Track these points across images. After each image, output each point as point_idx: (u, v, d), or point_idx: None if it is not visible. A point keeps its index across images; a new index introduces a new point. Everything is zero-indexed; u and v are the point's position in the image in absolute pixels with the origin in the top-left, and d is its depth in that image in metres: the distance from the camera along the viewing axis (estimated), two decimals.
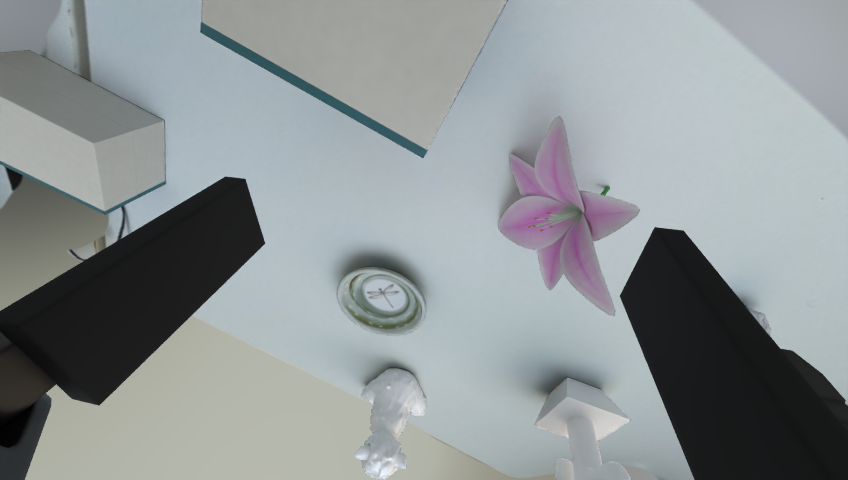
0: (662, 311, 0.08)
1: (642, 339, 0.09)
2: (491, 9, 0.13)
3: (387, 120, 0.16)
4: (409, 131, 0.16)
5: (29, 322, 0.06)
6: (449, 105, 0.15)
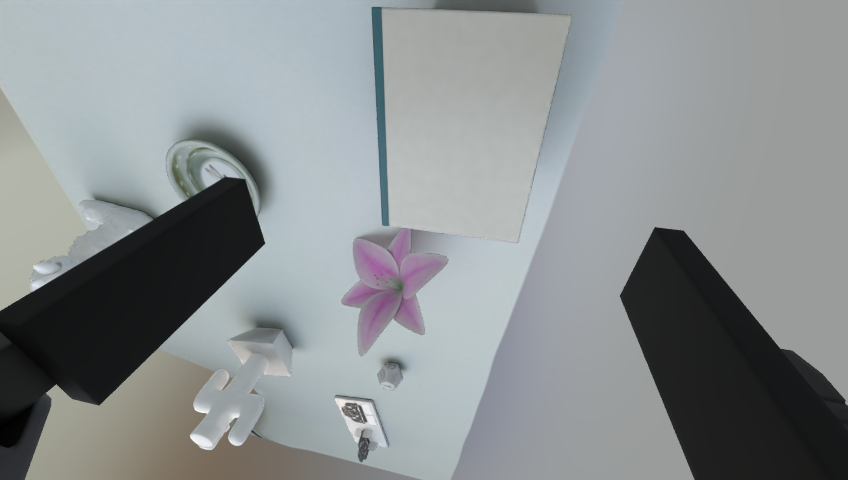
0: (662, 311, 0.08)
1: (642, 339, 0.09)
2: (485, 234, 0.21)
3: (393, 194, 0.21)
4: (394, 211, 0.21)
5: (29, 322, 0.06)
6: (424, 230, 0.22)
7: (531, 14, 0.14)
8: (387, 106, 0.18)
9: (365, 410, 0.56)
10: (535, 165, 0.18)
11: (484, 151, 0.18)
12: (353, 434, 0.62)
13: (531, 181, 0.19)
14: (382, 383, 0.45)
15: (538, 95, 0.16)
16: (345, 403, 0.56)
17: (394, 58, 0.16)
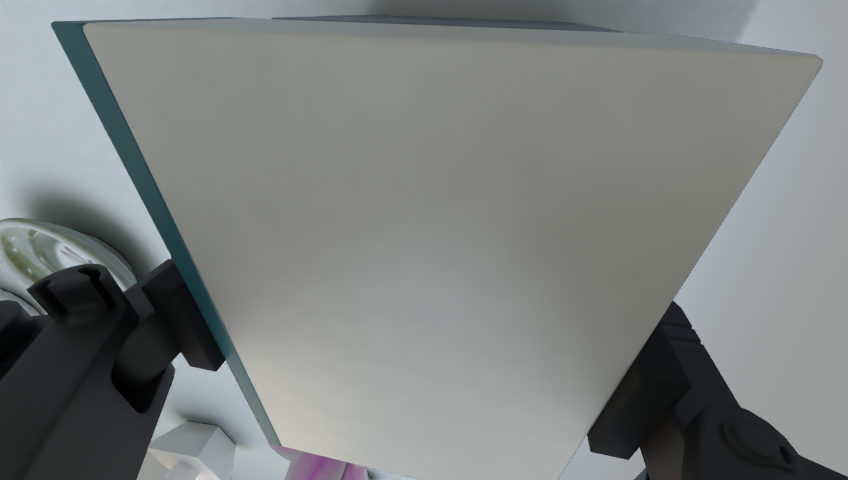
0: None
1: None
2: None
3: (274, 412, 0.10)
4: (285, 432, 0.10)
5: (177, 291, 0.07)
6: (349, 462, 0.11)
7: (633, 53, 0.03)
8: (205, 276, 0.07)
9: None
10: (592, 421, 0.07)
11: (461, 383, 0.07)
12: None
13: (578, 442, 0.08)
14: None
15: (623, 297, 0.05)
16: None
17: (179, 174, 0.05)
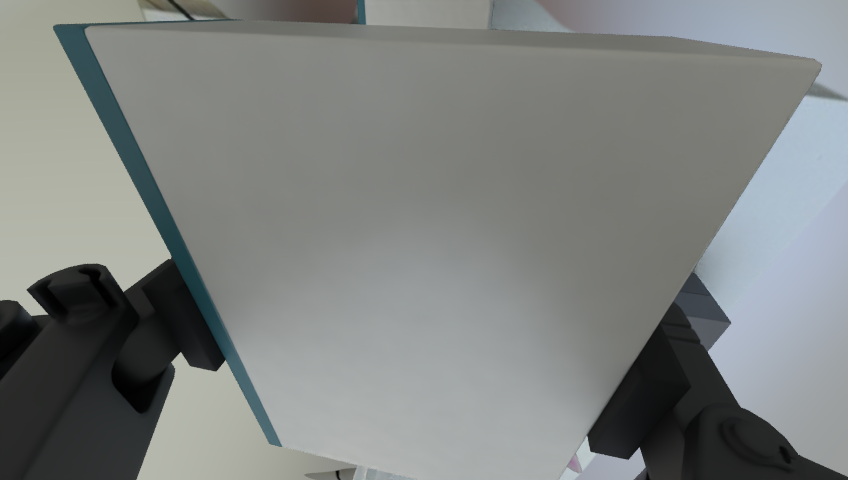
0: None
1: None
2: None
3: (274, 412, 0.10)
4: (285, 433, 0.10)
5: (177, 291, 0.07)
6: (349, 462, 0.11)
7: (633, 57, 0.03)
8: (206, 277, 0.07)
9: None
10: (592, 422, 0.07)
11: (461, 383, 0.07)
12: None
13: (578, 443, 0.08)
14: None
15: (623, 299, 0.05)
16: None
17: (180, 176, 0.05)
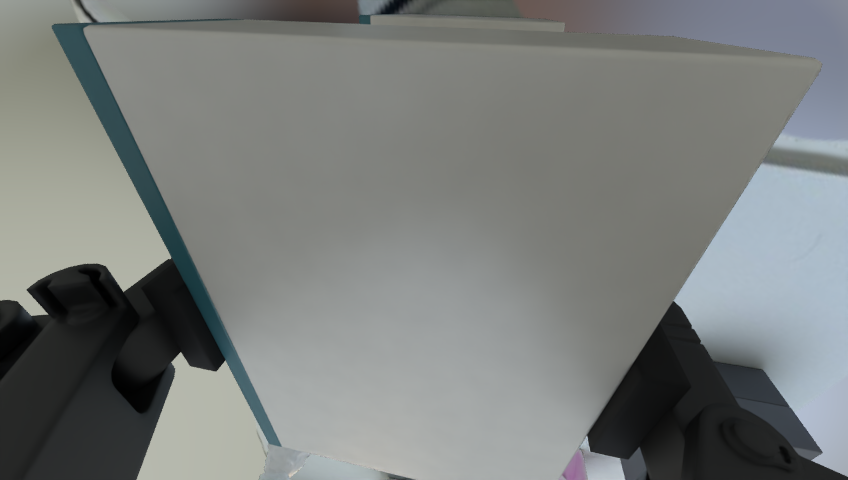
0: None
1: None
2: None
3: (274, 413, 0.10)
4: (284, 433, 0.10)
5: (177, 291, 0.07)
6: (349, 462, 0.11)
7: (632, 56, 0.03)
8: (205, 277, 0.07)
9: None
10: (592, 422, 0.07)
11: (461, 383, 0.07)
12: None
13: (578, 444, 0.08)
14: None
15: (623, 299, 0.05)
16: None
17: (179, 176, 0.05)
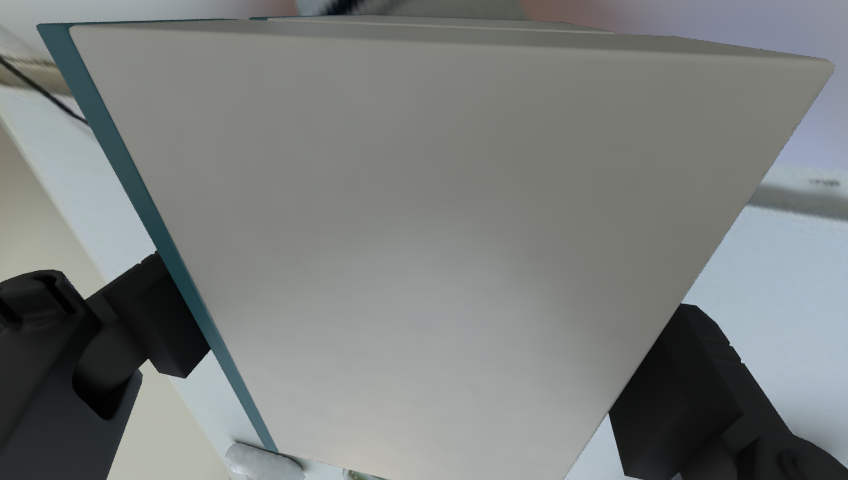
0: None
1: None
2: None
3: (270, 418, 0.10)
4: (281, 439, 0.10)
5: (139, 297, 0.07)
6: (347, 468, 0.11)
7: (638, 57, 0.03)
8: (199, 283, 0.07)
9: None
10: (593, 429, 0.07)
11: (460, 390, 0.07)
12: None
13: (579, 450, 0.07)
14: None
15: (625, 306, 0.05)
16: None
17: (170, 180, 0.05)
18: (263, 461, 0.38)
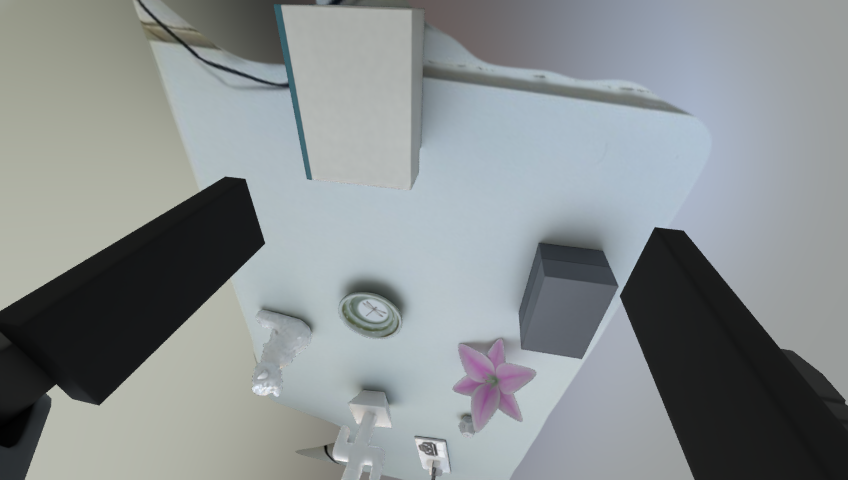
0: (662, 311, 0.08)
1: (642, 339, 0.09)
2: (385, 183, 0.27)
3: (311, 152, 0.26)
4: (314, 166, 0.27)
5: (29, 322, 0.06)
6: (339, 182, 0.27)
7: (384, 9, 0.20)
8: (296, 80, 0.23)
9: (438, 447, 0.72)
10: (410, 124, 0.24)
11: (371, 114, 0.24)
12: (423, 463, 0.78)
13: (410, 137, 0.24)
14: (463, 433, 0.61)
15: (401, 69, 0.22)
16: (422, 442, 0.71)
17: (295, 42, 0.22)
18: (283, 319, 0.54)
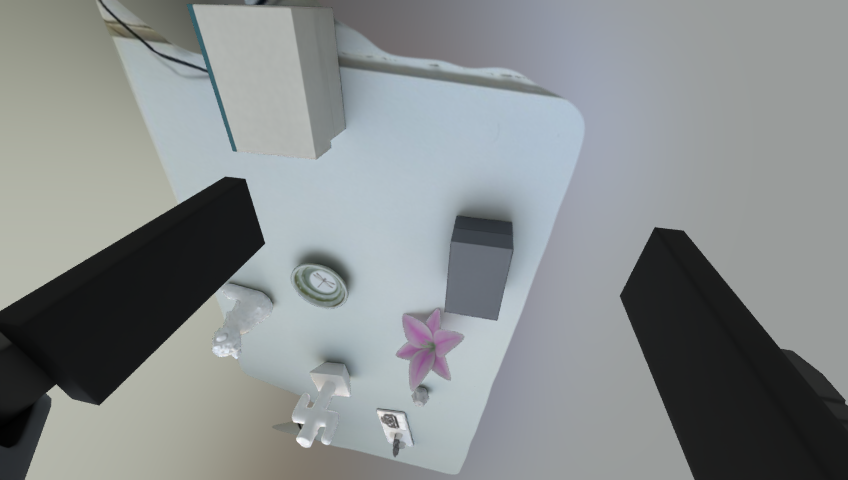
0: (662, 311, 0.08)
1: (642, 339, 0.09)
2: (295, 154, 0.32)
3: (232, 127, 0.32)
4: (237, 140, 0.32)
5: (29, 322, 0.06)
6: (259, 153, 0.33)
7: (269, 7, 0.25)
8: (212, 65, 0.29)
9: (398, 419, 0.76)
10: (306, 102, 0.29)
11: (274, 93, 0.29)
12: (387, 436, 0.82)
13: (307, 113, 0.29)
14: (415, 402, 0.66)
15: (291, 55, 0.27)
16: (384, 414, 0.76)
17: (207, 34, 0.27)
18: (246, 291, 0.59)
